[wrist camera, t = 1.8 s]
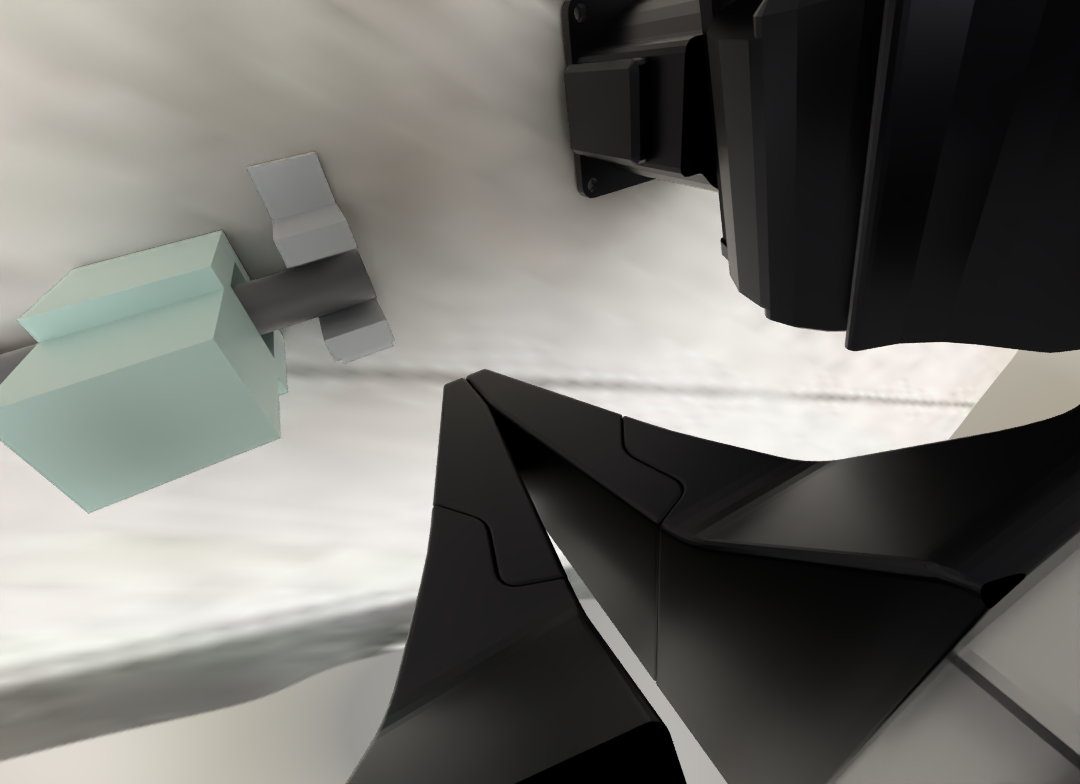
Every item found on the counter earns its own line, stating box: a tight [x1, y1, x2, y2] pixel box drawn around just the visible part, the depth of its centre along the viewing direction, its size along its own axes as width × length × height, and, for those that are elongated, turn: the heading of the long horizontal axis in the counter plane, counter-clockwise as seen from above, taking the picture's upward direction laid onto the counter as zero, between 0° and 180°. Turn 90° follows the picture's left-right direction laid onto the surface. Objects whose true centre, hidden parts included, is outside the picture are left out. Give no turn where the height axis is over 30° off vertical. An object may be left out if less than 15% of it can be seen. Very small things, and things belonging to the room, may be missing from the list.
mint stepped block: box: [0, 230, 288, 513], centre depth 12 cm, size 4×4×7 cm
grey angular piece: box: [0, 152, 394, 384], centre depth 12 cm, size 18×7×4 cm, turn 99°
